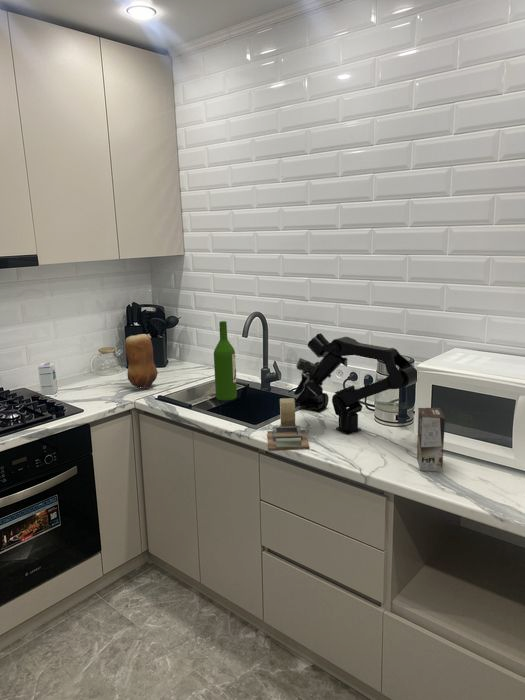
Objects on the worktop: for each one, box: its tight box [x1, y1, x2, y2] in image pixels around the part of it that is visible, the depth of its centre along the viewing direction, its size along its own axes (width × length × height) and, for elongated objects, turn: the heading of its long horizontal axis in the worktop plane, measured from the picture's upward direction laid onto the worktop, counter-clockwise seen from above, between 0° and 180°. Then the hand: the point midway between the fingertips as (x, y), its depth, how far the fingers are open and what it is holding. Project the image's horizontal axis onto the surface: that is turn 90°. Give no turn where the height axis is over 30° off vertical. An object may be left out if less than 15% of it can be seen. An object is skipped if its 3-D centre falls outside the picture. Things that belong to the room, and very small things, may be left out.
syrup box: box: [37, 362, 59, 396], centre depth 235 cm, size 6×6×14 cm
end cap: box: [298, 392, 329, 414], centre depth 207 cm, size 10×7×7 cm
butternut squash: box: [124, 333, 159, 389], centre depth 241 cm, size 14×13×25 cm
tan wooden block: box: [279, 397, 296, 427], centre depth 187 cm, size 5×5×10 cm
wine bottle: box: [213, 320, 238, 402], centre depth 222 cm, size 9×9×32 cm
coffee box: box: [416, 407, 446, 472], centre depth 153 cm, size 9×6×16 cm
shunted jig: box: [267, 425, 310, 451], centre depth 176 cm, size 15×13×3 cm
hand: (295, 397), depth 186 cm, fingers open, 9 cm apart
